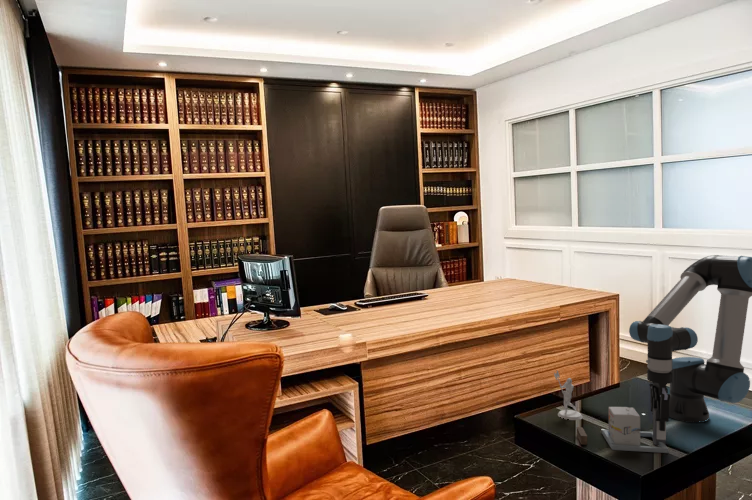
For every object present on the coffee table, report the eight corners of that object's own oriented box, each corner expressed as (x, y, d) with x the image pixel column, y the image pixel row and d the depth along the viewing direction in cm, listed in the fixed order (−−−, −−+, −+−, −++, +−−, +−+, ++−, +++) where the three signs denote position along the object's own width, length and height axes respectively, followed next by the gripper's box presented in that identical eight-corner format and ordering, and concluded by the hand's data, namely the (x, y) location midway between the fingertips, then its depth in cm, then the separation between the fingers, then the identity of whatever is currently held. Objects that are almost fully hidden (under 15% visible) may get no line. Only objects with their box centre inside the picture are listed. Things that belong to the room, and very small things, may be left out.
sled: (656, 435, 185) (656, 403, 184) (671, 453, 171) (671, 417, 170) (601, 433, 188) (601, 400, 188) (612, 449, 174) (611, 414, 174)
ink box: (607, 437, 184) (607, 405, 184) (633, 439, 182) (633, 406, 182) (614, 447, 176) (614, 414, 175) (640, 449, 174) (640, 415, 174)
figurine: (552, 412, 210) (552, 369, 210) (573, 410, 212) (573, 367, 211) (565, 421, 201) (565, 375, 200) (587, 419, 202) (587, 373, 202)
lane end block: (582, 435, 187) (582, 427, 186) (587, 444, 179) (587, 436, 179) (576, 435, 187) (576, 427, 187) (581, 444, 179) (581, 435, 179)
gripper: (640, 363, 186) (640, 427, 186) (655, 376, 170) (655, 445, 171) (663, 364, 184) (662, 428, 185) (680, 377, 168) (680, 447, 169)
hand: (659, 436), depth 178 cm, fingers closed on sled, 3 cm apart
